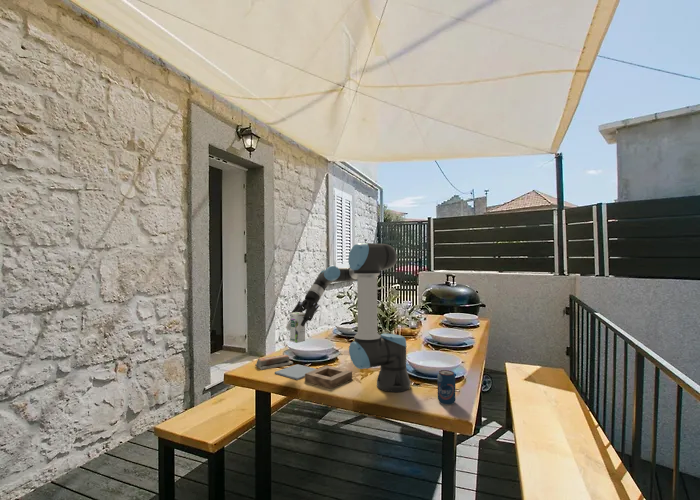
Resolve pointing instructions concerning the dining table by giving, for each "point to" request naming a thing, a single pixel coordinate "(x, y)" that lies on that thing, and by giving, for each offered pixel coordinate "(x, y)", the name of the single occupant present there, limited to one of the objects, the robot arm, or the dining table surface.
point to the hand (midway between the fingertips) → (292, 329)
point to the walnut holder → (322, 379)
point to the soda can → (446, 387)
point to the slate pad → (295, 371)
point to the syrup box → (294, 322)
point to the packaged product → (273, 362)
